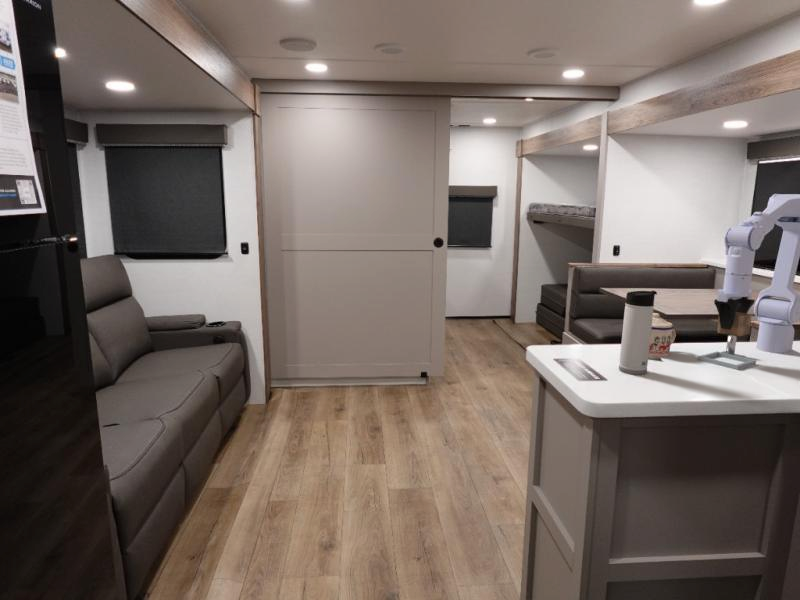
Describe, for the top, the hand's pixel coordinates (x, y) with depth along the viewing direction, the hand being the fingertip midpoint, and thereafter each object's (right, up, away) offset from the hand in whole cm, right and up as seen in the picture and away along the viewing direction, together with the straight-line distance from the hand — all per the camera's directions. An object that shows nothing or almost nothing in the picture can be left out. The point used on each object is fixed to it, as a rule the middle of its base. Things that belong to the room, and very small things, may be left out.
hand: (731, 327), depth 137 cm
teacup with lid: (-15, -8, +10) cm, 20 cm away
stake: (+4, -9, +8) cm, 13 cm away
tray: (-1, -10, +1) cm, 10 cm away
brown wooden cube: (0, -1, 0) cm, 1 cm away
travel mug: (-27, -11, -5) cm, 30 cm away
